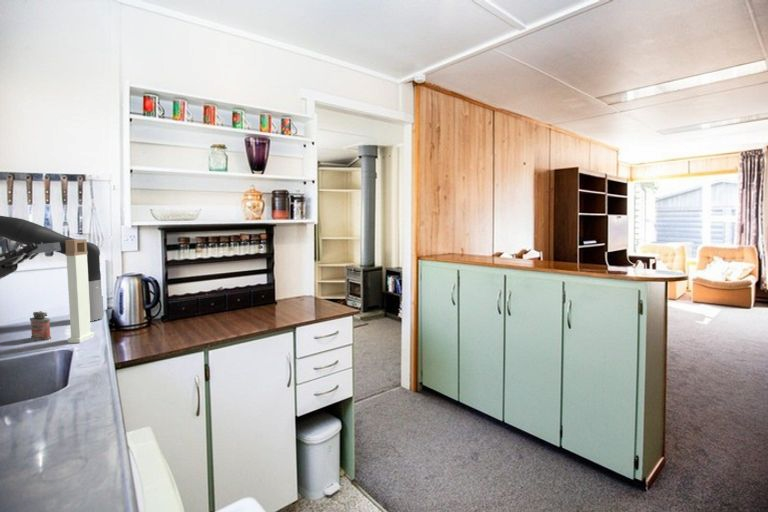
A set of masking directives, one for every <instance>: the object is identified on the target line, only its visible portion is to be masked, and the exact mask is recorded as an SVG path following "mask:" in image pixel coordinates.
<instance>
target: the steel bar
mask: <svg viewBox="0 0 768 512" xmlns="http://www.w3.org/2000/svg"><path fill="white" fill-rule="evenodd" d="M25 246H26V245H21V246H20V248H23V247H25ZM36 247H37V248H36V249H35V250H33V251H31V252H29V253H27V254H34V253H39V254H42V253H50V252H51V253H53V252H56V251H61V247H60V242H56V243H46V244H37V245H36Z"/></svg>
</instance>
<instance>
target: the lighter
mask: <svg viewBox="0 0 768 512" xmlns="http://www.w3.org/2000/svg"><path fill="white" fill-rule="evenodd" d="M32 315H33V317H30V318H29V322H30V329H31V330H30V331H31V335H30V338H31V340H34V341H43V342H45V340H46V341H50V340H51V339H52V336H51V328H50V322H51V319H50V318H49V317H48V312H43V311H42V310H39V311H33V313H32ZM49 339H50V340H49Z"/></svg>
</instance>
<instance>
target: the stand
mask: <svg viewBox="0 0 768 512" xmlns="http://www.w3.org/2000/svg"><path fill="white" fill-rule="evenodd" d="M74 239H75V240H65V242H66V253H65V254H64V255H65V257H66V270H67V272H66V273H67V274H66V275H67V285H68V286H67V288H68V289H67V290H68V304H69V305H68V307H69V322H70V323H69V324H70V337H68V338H67V344H81V343H83V342H85V341H87V340H89V339H91V338H93V337H95V332H94V331H92V324H91V323H92V321H91V322H90V302H89V283H88V264H87V254H88V251H87V242H88V241H87V239H84V238H83V239H82V238H81V239H80V238H79V239H78V238H74Z"/></svg>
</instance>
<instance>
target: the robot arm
mask: <svg viewBox="0 0 768 512" xmlns="http://www.w3.org/2000/svg"><path fill="white" fill-rule="evenodd" d="M0 237H1V238H3V239H4V238H5V239H7V240H10V241H13V242H15V243H18V244H21V245H23V246H25V247H23V248H21V247H19V248H18V249H17V248H14V249H12V250H10V251H7V252H5V253H2V252H1V253H0V280H1V279H3V278H5V277H8V276H9V275H10V274H13V273H14V272H16V271H17V270H18V268H19V267H18V266H19V265H20V264H22V263H24V262H25V261H27V260H33V259H34V258H36V257H37V256H38V255H40V253H34V254H27V253H29V252H31V251H33V250H35V249H36V248H37V247H36V245H37V244H46V243H56V242H60V247H61V251H55V253H56V252H57V253H60V254H62V255H65V253H66V242H65V240H75V239H76V238H72V237H69V236H66V235H64V234H61V233H60V232H58V231H55V230H53V229H50V228H48V227H46V226H43V225H41V224H37V223H35V222H33V221H30V220H26V219H23V218H21V217H20V218H19V217H11V216H6V215H5V216H4V215H0ZM86 242H87V251H88V254H87V264H88V283H89V302H90V321H91V322H95V321H94V320H97V321H99V320H98V319H101V318H103V319H104V317H105V315H104V296H103V292H102V274H101V261H100V256H101V250H100V249H99V247H98V245H96V244H94V242H93V243H92V242H89V241H86ZM103 316H104V317H103ZM101 320H102V319H101Z"/></svg>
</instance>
